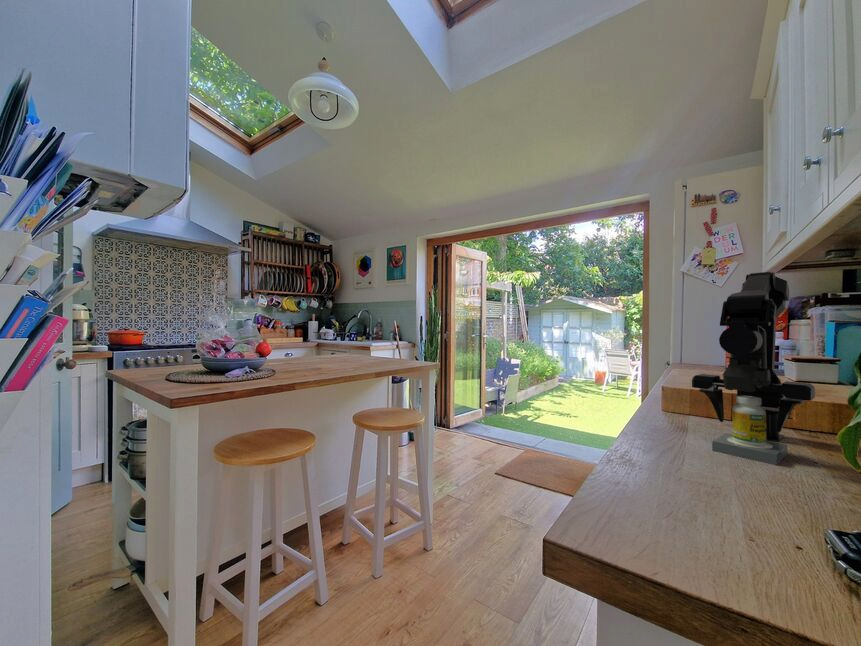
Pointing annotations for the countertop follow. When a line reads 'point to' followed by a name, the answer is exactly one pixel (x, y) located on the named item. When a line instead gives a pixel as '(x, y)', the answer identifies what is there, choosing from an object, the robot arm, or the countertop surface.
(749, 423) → the supplement bottle
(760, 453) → the slate base
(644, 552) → the countertop surface
